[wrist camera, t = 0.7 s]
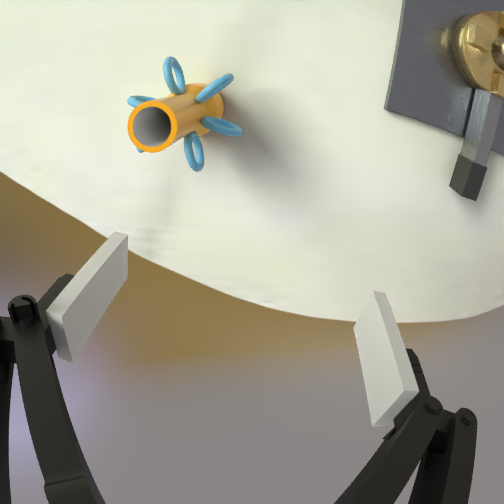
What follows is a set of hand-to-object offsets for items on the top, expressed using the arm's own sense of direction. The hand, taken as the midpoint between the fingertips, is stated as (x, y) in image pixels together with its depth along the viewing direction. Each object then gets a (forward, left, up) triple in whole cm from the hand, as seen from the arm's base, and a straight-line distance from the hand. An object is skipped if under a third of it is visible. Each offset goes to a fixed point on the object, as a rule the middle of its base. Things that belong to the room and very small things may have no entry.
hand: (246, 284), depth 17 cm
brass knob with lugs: (-15, +24, -23) cm, 37 cm away
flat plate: (-22, +24, -24) cm, 41 cm away
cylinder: (-6, -9, -25) cm, 27 cm away
